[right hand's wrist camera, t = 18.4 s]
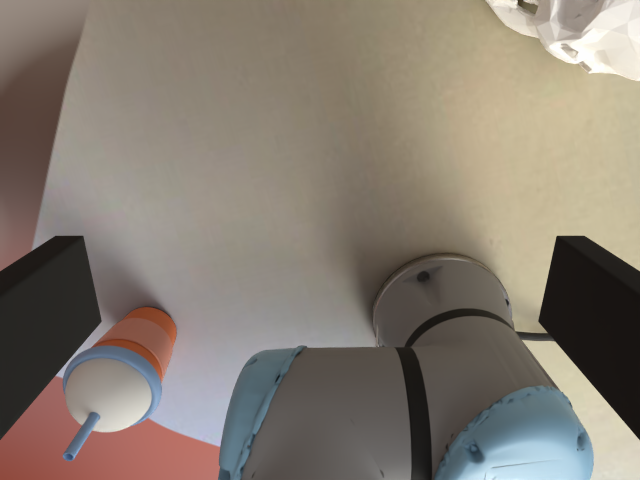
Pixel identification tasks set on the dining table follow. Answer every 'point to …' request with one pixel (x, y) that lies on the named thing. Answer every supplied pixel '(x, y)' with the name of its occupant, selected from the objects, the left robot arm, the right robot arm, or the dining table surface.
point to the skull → (581, 31)
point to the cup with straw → (119, 375)
